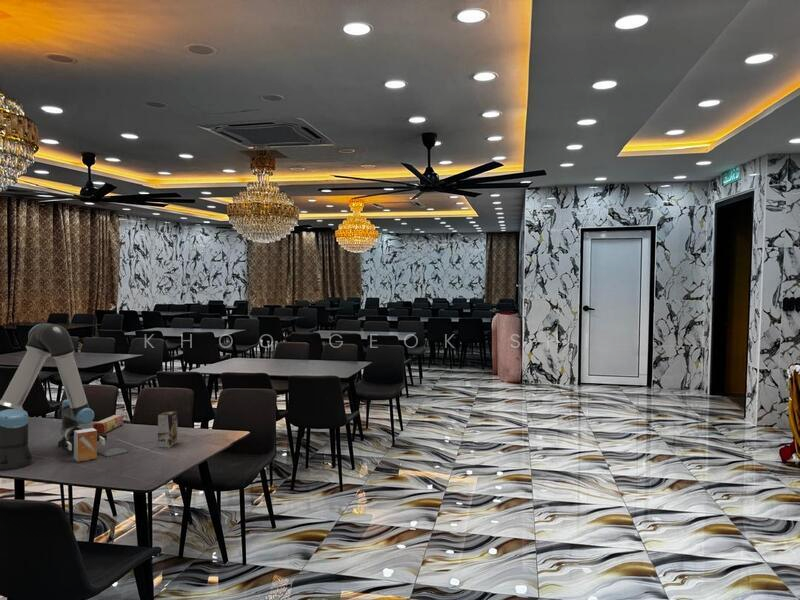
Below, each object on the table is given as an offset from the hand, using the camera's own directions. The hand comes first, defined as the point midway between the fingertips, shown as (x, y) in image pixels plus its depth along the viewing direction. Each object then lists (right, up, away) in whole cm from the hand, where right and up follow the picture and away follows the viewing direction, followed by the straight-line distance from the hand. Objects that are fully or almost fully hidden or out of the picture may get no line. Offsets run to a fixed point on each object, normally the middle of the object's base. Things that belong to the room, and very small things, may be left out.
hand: (87, 444), depth 255 cm
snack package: (-18, -6, +54) cm, 57 cm away
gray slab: (+6, -7, +11) cm, 14 cm away
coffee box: (+26, -7, +26) cm, 37 cm away
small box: (-2, -7, +2) cm, 7 cm away
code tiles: (-2, -7, +2) cm, 7 cm away
